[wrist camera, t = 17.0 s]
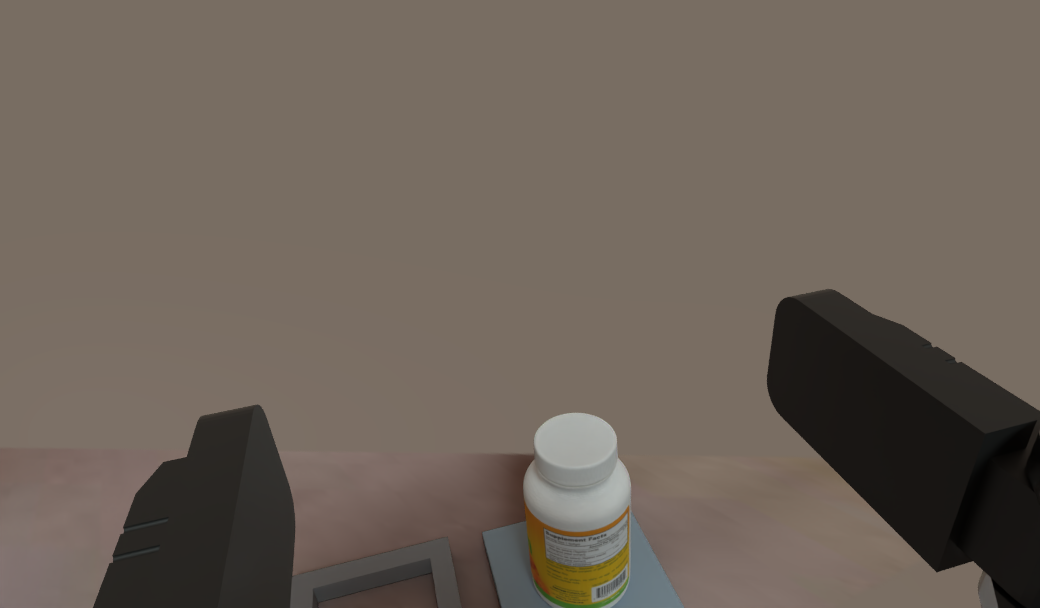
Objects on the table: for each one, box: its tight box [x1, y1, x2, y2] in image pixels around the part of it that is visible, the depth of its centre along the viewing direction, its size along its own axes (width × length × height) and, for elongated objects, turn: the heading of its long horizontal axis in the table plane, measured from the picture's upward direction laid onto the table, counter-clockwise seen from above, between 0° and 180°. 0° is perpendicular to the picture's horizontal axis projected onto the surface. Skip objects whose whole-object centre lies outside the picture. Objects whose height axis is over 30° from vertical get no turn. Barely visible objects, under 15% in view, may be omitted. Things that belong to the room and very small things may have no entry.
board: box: [482, 512, 684, 608], centre depth 36 cm, size 9×9×1 cm
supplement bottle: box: [523, 413, 631, 608], centre depth 33 cm, size 5×5×10 cm
